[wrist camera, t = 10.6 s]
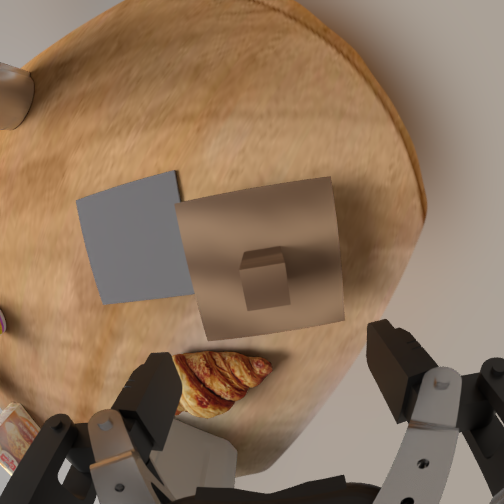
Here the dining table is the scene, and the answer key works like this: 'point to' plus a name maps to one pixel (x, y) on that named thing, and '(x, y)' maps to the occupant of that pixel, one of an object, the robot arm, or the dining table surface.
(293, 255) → the lid
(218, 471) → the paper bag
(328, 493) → the robot arm
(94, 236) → the plate
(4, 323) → the supplement bottle
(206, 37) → the dining table surface
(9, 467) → the coffeecake box
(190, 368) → the croissant
